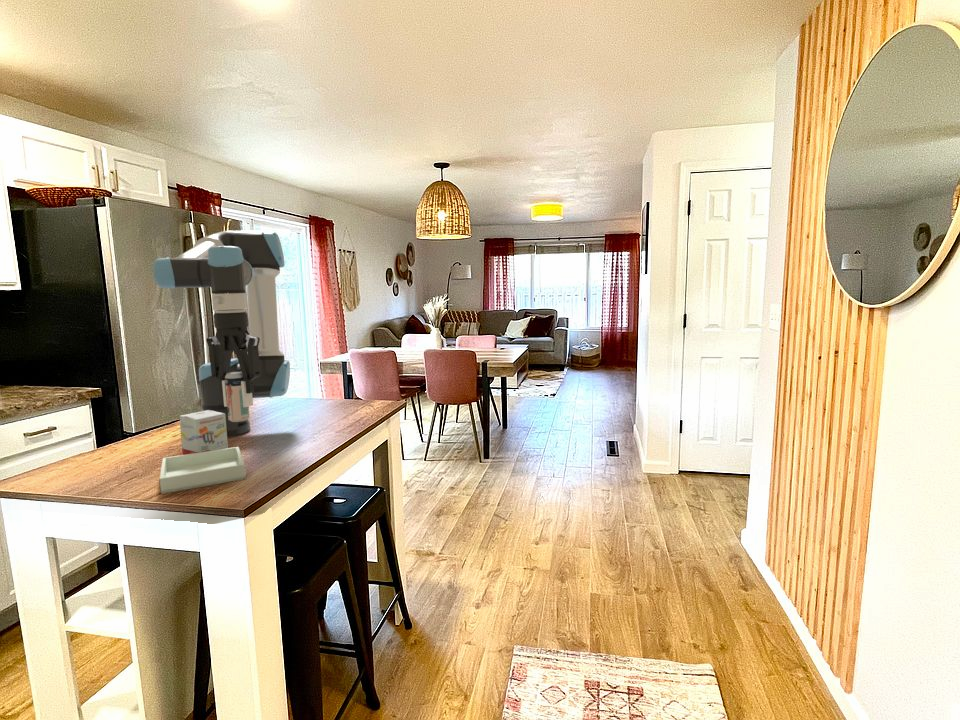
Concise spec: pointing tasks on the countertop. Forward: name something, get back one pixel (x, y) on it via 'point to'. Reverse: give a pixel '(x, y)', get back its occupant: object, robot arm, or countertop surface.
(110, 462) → the countertop surface
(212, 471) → the bin
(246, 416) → the beer can
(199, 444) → the ink box
